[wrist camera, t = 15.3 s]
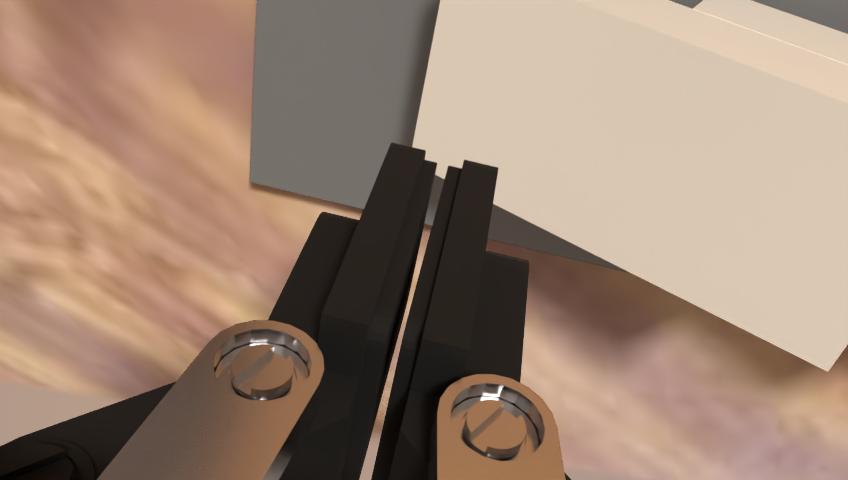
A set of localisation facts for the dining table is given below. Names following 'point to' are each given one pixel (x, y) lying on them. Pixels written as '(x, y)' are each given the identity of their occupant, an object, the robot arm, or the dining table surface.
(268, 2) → the mat
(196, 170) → the dining table surface
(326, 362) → the robot arm
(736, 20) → the domino
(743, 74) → the domino
